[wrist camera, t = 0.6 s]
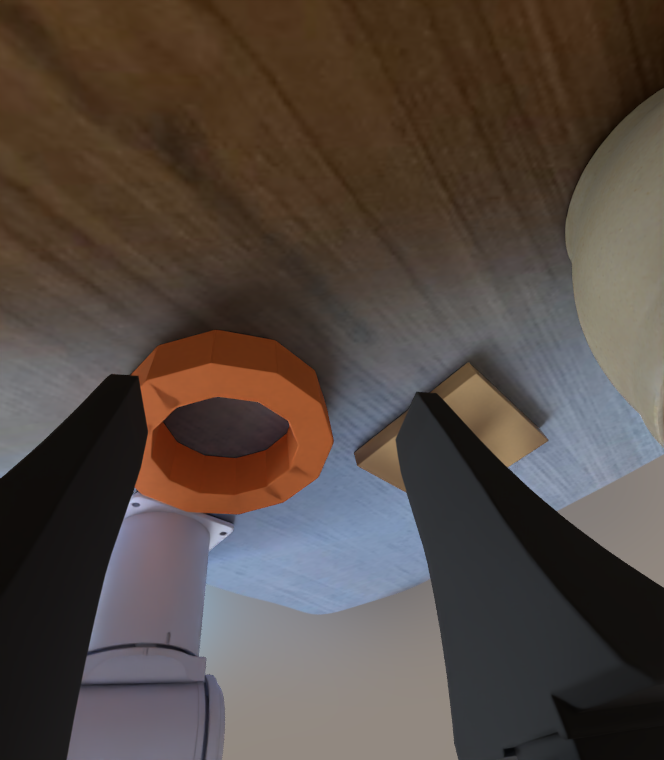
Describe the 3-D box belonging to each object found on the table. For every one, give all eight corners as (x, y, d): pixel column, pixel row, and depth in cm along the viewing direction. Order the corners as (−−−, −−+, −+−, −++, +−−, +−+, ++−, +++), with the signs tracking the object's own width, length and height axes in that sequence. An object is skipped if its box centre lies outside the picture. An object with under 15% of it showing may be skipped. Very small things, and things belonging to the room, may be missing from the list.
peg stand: (435, 498, 33) (465, 571, 28) (353, 452, 28) (373, 532, 23) (540, 428, 30) (595, 499, 25) (468, 361, 25) (520, 433, 20)
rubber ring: (124, 469, 26) (111, 509, 23) (125, 312, 19) (107, 346, 17) (297, 481, 29) (301, 517, 27) (348, 352, 23) (359, 385, 20)
